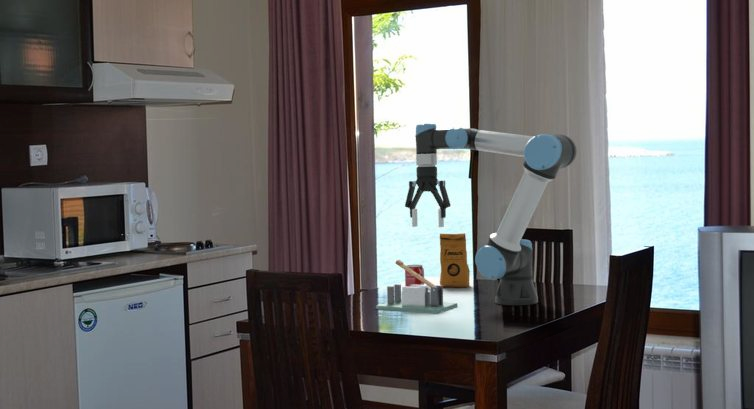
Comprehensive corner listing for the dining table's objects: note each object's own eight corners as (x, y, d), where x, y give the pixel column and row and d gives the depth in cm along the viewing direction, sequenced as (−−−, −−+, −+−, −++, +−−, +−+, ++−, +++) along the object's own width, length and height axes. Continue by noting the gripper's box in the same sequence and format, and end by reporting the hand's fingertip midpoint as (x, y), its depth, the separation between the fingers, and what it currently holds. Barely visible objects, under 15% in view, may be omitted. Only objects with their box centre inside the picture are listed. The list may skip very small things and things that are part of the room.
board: (457, 306, 329) (457, 303, 329) (437, 313, 315) (437, 309, 315) (397, 302, 341) (397, 299, 341) (376, 309, 327) (376, 305, 327)
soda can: (423, 301, 342) (422, 266, 342) (404, 301, 344) (403, 266, 343) (426, 298, 349) (425, 264, 349) (407, 298, 351) (406, 264, 350)
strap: (435, 288, 325) (437, 285, 325) (433, 289, 323) (434, 286, 323) (397, 262, 332) (399, 259, 332) (395, 263, 331) (396, 260, 330)
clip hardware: (444, 308, 326) (443, 285, 326) (436, 310, 321) (435, 287, 320) (396, 304, 336) (396, 282, 336) (387, 307, 330) (387, 285, 330)
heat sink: (436, 303, 329) (436, 285, 329) (424, 307, 322) (424, 288, 321) (413, 302, 334) (413, 284, 334) (402, 305, 326) (401, 287, 326)
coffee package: (468, 288, 375) (467, 234, 374) (437, 288, 378) (436, 234, 377) (471, 285, 385) (470, 232, 384) (441, 284, 388) (440, 232, 387)
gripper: (459, 165, 337) (460, 226, 338) (404, 166, 348) (405, 225, 349) (450, 165, 330) (451, 227, 331) (394, 166, 341) (395, 227, 342)
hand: (428, 226), depth 340 cm, fingers open, 10 cm apart
